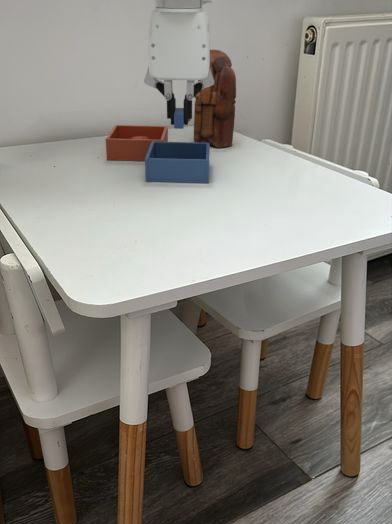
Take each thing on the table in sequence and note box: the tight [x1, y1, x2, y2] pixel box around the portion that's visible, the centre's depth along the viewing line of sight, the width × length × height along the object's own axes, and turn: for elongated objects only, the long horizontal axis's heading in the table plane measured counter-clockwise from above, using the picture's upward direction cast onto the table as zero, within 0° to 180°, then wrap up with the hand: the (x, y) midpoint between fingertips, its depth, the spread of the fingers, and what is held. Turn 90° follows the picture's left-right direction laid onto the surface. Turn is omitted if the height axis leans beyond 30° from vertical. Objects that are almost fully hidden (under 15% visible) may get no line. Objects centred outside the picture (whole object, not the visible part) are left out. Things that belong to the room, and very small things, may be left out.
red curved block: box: [131, 136, 149, 139], centre depth 114 cm, size 8×4×2 cm, turn 178°
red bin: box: [105, 124, 169, 162], centre depth 114 cm, size 11×12×4 cm
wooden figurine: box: [193, 49, 237, 149], centre depth 118 cm, size 12×6×18 cm, turn 38°
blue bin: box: [144, 141, 211, 184], centre depth 103 cm, size 11×12×4 cm
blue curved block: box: [173, 107, 192, 130], centre depth 99 cm, size 8×4×2 cm, turn 178°
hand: (179, 122), depth 99 cm, fingers closed on blue curved block, 1 cm apart
